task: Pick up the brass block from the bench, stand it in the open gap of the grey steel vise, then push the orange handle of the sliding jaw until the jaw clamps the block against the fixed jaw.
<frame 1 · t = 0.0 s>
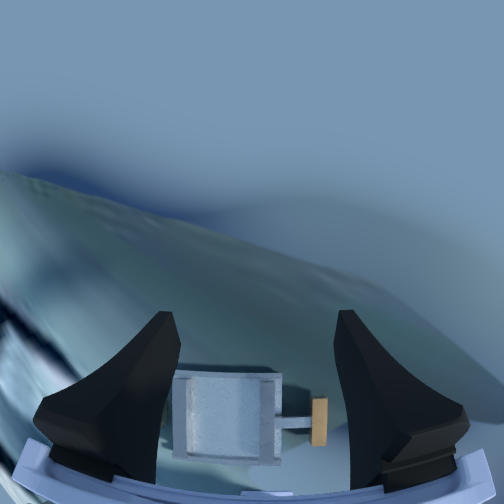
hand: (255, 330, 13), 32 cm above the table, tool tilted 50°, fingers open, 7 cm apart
vise bed: (220, 416, 40), on the table
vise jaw: (292, 422, 36), point 3 cm above the table, slide at 0.0 cm
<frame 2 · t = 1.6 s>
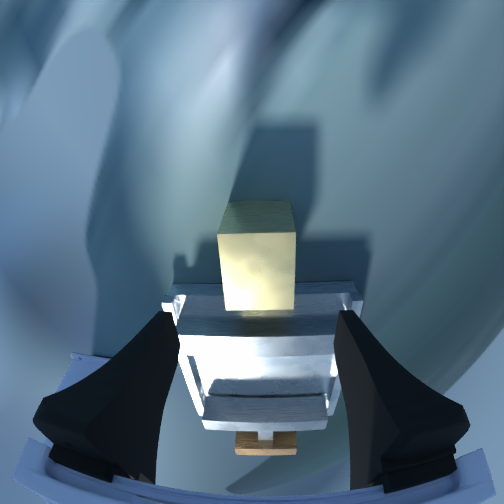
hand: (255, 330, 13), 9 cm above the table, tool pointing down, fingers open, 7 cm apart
brass block: (260, 234, 21), on the table
vise bed: (264, 346, 26), on the table
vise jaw: (265, 429, 28), point 3 cm above the table, slide at 0.0 cm
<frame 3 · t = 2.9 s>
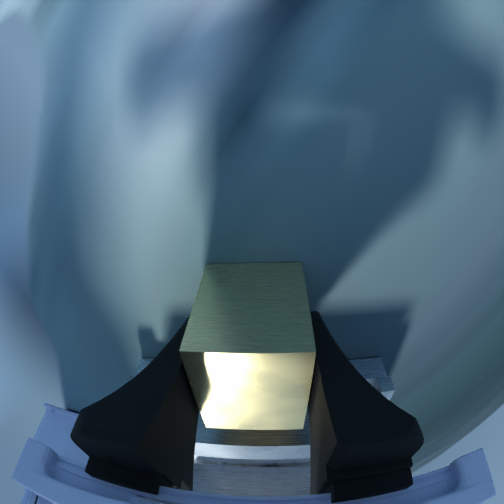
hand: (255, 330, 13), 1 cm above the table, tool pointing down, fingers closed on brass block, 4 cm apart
brass block: (256, 308, 14), on the table, touching gripper
vise bed: (262, 421, 19), on the table
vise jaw: (263, 492, 21), point 3 cm above the table, slide at 0.0 cm
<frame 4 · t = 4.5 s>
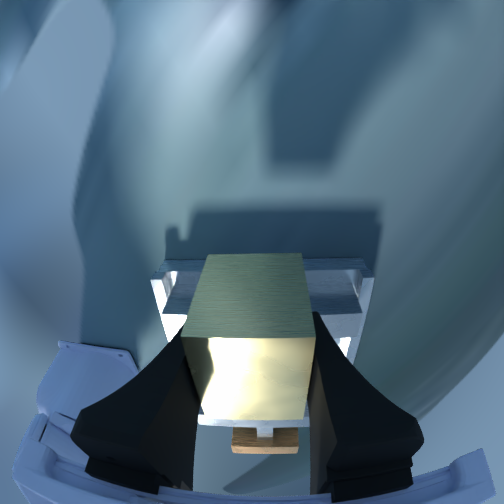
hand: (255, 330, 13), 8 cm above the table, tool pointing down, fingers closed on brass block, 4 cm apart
brass block: (256, 300, 14), point 7 cm above the table, touching gripper
vise bed: (264, 333, 24), on the table
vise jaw: (265, 425, 26), point 3 cm above the table, slide at 0.0 cm
when the fingers open (4 cm above the table, at t = 6.3 s): brass block stays where it is, resting on vise bed.
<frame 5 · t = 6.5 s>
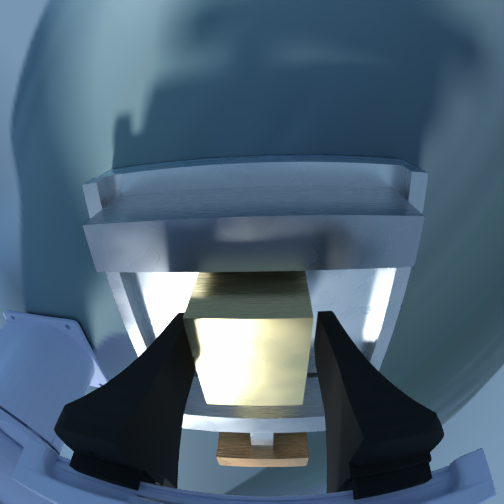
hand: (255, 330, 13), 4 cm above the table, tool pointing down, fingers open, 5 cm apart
brass block: (256, 288, 14), point 1 cm above the table, touching vise bed
vise bed: (258, 286, 16), on the table
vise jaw: (262, 429, 19), point 3 cm above the table, slide at 0.0 cm
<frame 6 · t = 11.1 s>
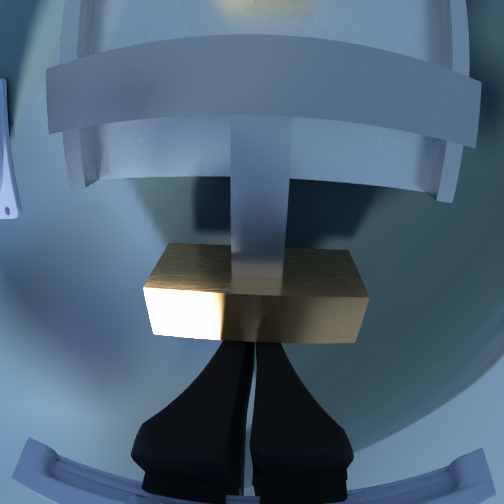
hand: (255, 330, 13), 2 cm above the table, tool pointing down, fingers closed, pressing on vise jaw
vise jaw: (259, 196, 9), point 3 cm above the table, slide at 1.4 cm, touching gripper
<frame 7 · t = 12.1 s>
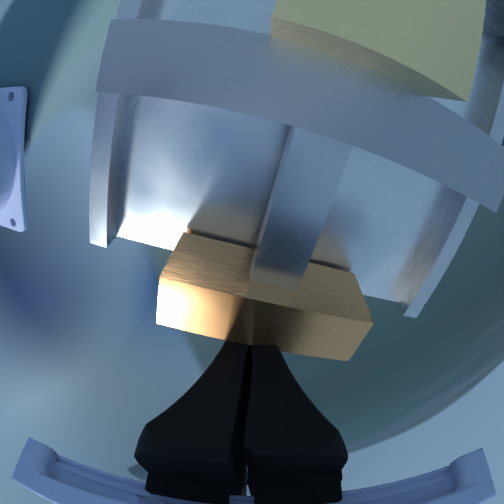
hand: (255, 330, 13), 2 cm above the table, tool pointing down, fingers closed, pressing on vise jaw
brass block: (345, 11, 7), point 2 cm above the table, touching vise bed, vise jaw
vise bed: (327, 52, 9), on the table
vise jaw: (296, 209, 9), point 3 cm above the table, slide at 5.0 cm, touching brass block, gripper
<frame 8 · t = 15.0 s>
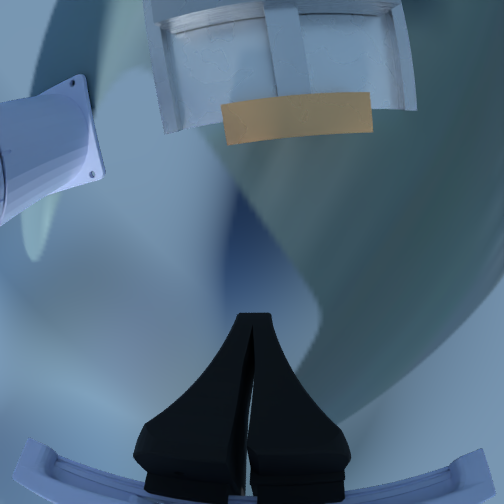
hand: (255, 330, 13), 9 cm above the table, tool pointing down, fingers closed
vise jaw: (287, 49, 12), point 3 cm above the table, slide at 5.0 cm, touching brass block
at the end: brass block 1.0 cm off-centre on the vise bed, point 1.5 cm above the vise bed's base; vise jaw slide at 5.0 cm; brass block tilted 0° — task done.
